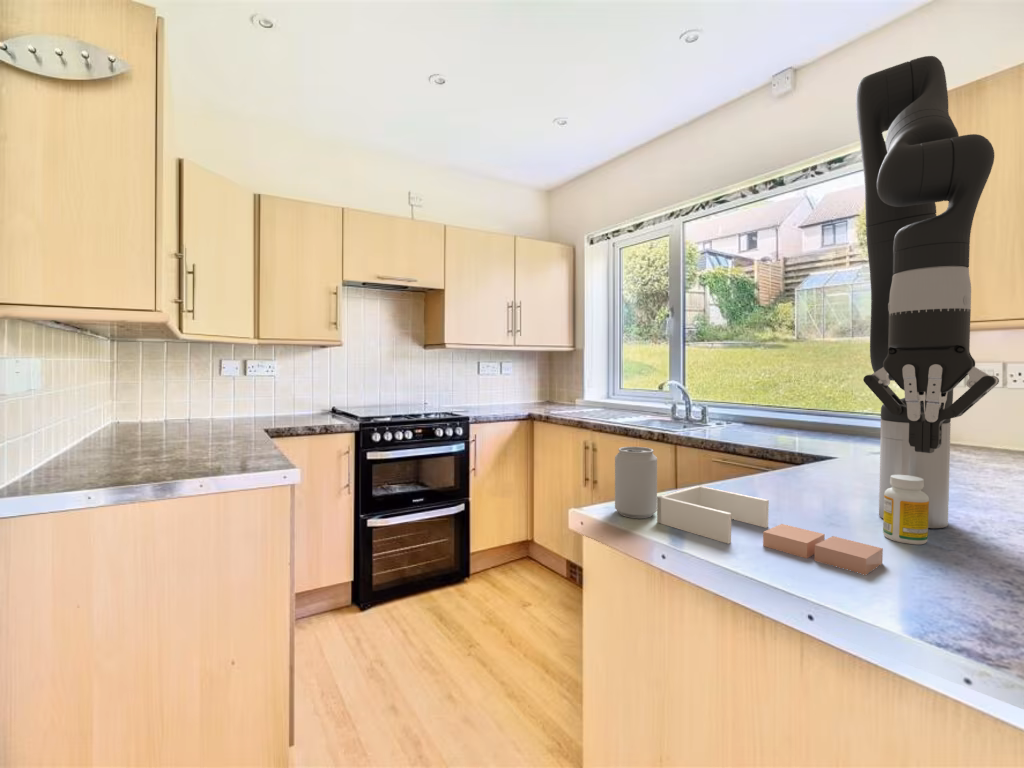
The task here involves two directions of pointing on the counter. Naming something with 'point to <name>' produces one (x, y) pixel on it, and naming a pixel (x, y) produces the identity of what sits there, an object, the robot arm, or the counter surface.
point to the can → (636, 482)
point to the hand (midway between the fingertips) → (924, 451)
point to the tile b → (848, 554)
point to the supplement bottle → (906, 510)
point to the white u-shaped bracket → (710, 511)
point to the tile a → (792, 540)
